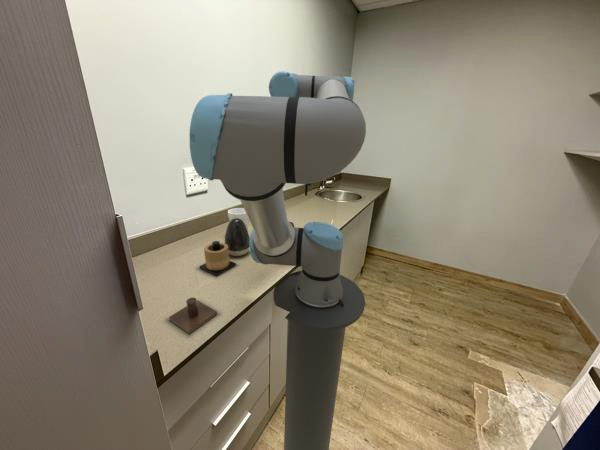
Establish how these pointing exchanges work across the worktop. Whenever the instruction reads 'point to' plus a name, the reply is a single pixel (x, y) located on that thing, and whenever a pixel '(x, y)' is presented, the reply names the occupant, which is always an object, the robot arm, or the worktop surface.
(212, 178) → the robot arm
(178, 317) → the low peg stand
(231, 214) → the foam cup
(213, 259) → the maple ring
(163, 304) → the worktop surface
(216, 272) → the square base peg
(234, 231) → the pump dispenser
